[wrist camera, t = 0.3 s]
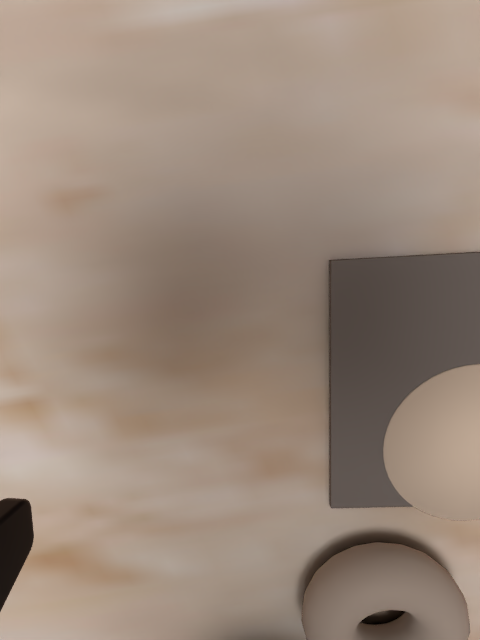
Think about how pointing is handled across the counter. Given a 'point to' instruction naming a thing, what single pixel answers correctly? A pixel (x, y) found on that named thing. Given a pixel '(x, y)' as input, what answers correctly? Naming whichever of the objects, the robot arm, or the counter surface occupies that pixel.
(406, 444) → the kitchen scale
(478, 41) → the counter surface
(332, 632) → the donut
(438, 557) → the counter surface
